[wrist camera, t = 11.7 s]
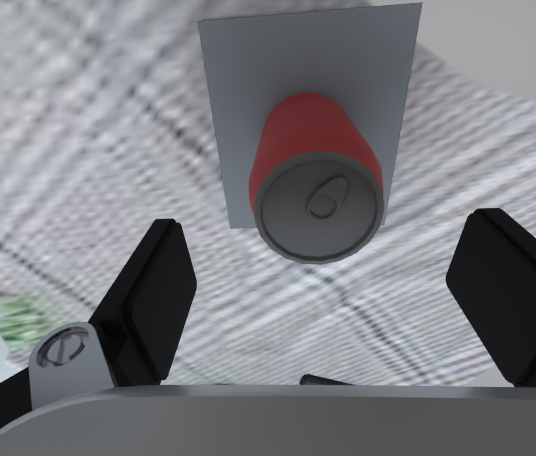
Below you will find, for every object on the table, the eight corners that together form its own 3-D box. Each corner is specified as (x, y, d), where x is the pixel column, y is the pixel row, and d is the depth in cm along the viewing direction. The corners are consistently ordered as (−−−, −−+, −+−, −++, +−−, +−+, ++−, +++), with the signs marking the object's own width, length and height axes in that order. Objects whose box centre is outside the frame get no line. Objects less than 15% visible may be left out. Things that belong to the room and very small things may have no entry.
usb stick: (297, 380, 43) (297, 390, 42) (304, 370, 42) (304, 380, 40) (358, 394, 44) (360, 405, 43) (366, 384, 42) (369, 395, 41)
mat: (200, 21, 20) (197, 21, 19) (417, 3, 19) (422, 2, 18) (231, 224, 29) (230, 228, 28) (381, 220, 27) (384, 225, 27)
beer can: (367, 119, 22) (433, 189, 12) (318, 190, 25) (337, 292, 15) (289, 72, 21) (290, 105, 10) (248, 153, 24) (218, 238, 14)
